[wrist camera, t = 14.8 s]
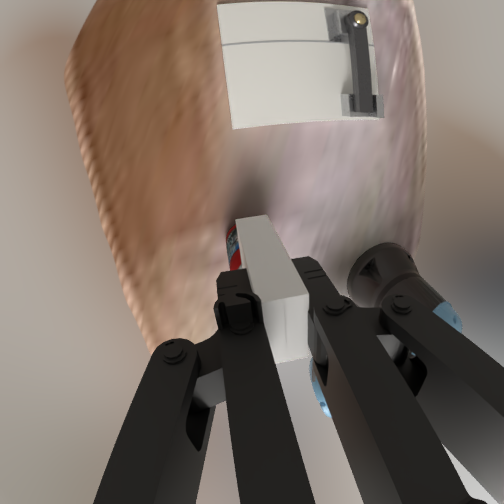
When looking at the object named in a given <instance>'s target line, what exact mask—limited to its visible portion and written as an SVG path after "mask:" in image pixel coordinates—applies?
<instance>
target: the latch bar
mask: <svg viewBox="0 0 504 504" xmlns="http://www.w3.org/2000/svg"><path fill="white" fill-rule="evenodd" d="M344 22H345V25H346V26H347V28H348V37H349V46H350V57H351V68H352V82H353V99H354V112H363V113H373V102H372V82H371V68H370V56H369V46H368V37H367V28H366V27H367V26H368V23H369V21H368V17H367V16H366V15H365V14H364V13H363V12H361V11H359V10H355V11H352V12H350V13H348V14H347V15H346V16H345V17H344Z"/></svg>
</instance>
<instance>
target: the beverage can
mask: <svg viewBox="0 0 504 504" xmlns="http://www.w3.org/2000/svg"><path fill="white" fill-rule="evenodd" d="M226 247H227V254H228V260H229V266H230V271H232V270H237V269H243V268H242V262H241V255H240V248H239V241H238V234H237V228H236V225H234V226H233V227H232V228H231V229H230V230H229V232H228V234H227V237H226Z"/></svg>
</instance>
